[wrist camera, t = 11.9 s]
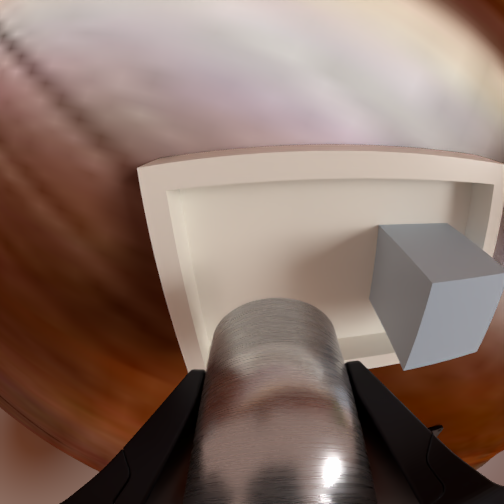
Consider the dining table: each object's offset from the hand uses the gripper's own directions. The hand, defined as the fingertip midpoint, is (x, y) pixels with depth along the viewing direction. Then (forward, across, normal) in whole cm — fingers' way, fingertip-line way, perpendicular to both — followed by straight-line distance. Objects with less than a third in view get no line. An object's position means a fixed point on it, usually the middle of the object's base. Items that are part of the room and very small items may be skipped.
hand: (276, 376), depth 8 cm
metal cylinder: (+1, 0, 0) cm, 1 cm away
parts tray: (+7, -3, 0) cm, 8 cm away
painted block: (+6, -7, 0) cm, 9 cm away
